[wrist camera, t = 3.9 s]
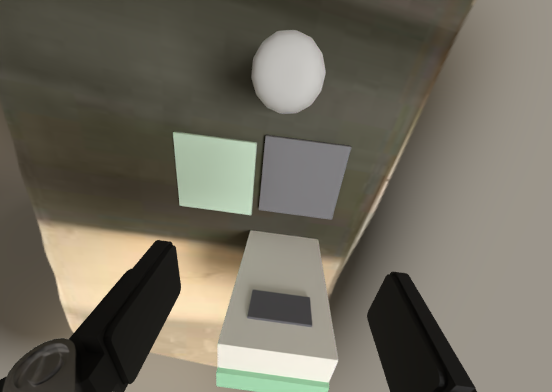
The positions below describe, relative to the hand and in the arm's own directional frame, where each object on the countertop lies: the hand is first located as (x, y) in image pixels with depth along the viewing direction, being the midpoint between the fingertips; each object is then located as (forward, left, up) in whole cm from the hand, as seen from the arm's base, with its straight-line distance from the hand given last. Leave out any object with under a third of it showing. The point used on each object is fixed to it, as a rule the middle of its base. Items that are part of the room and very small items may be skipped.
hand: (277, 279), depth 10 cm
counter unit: (+15, +1, -19) cm, 24 cm away
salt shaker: (-8, -1, -20) cm, 21 cm away
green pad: (+4, -9, -19) cm, 21 cm away
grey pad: (+3, +2, -19) cm, 20 cm away
